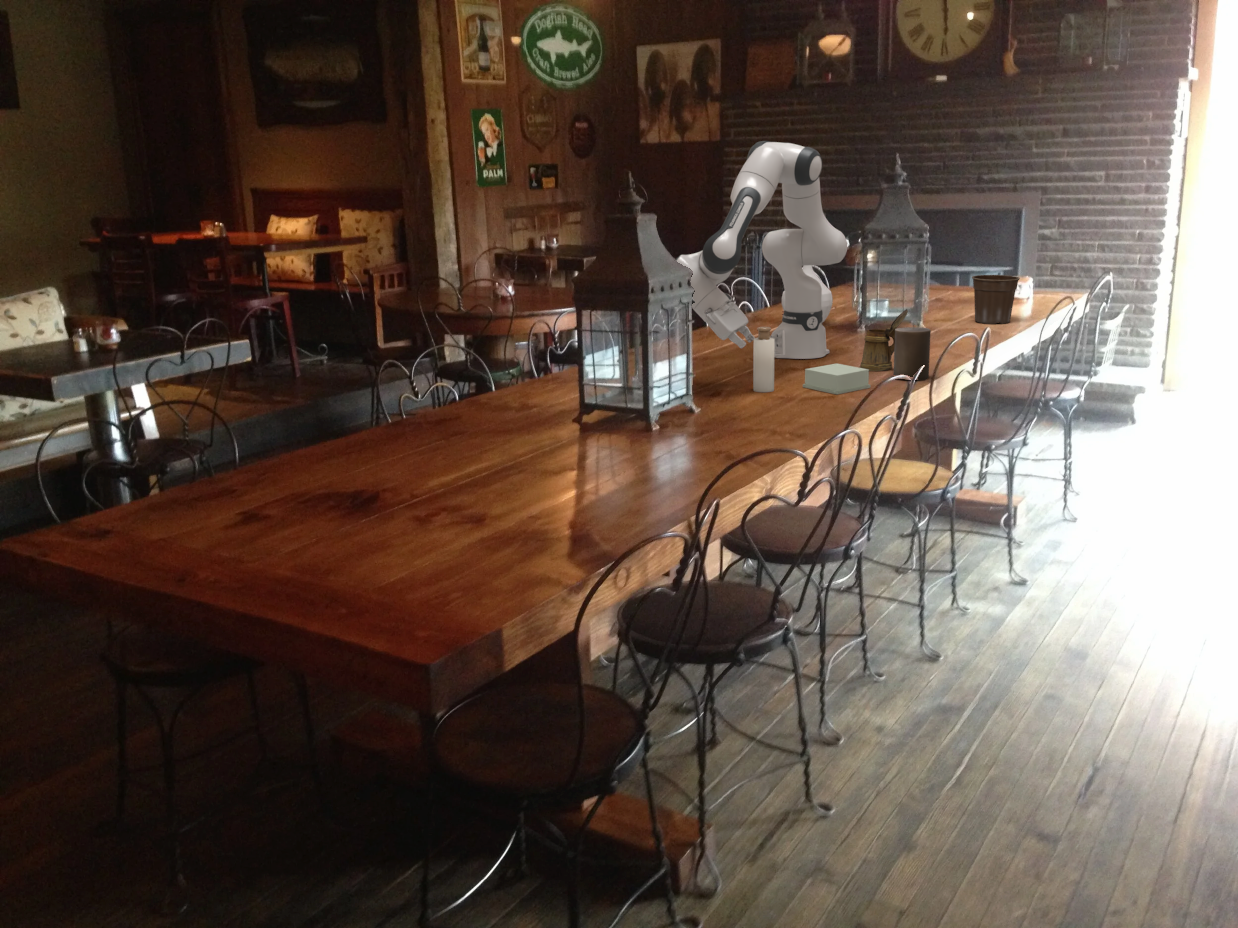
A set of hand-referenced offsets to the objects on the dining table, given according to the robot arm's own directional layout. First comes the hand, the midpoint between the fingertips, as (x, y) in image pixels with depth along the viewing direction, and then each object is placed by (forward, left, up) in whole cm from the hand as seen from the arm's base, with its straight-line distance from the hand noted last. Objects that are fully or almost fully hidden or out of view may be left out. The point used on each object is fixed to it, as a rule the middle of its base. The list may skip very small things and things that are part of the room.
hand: (748, 343), depth 303 cm
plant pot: (-63, +129, -13) cm, 144 cm away
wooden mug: (-7, +47, -13) cm, 50 cm away
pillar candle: (+7, +47, -13) cm, 50 cm away
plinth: (+9, +22, -13) cm, 27 cm away
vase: (-90, +68, -13) cm, 114 cm away
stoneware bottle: (+3, +3, -13) cm, 13 cm away
